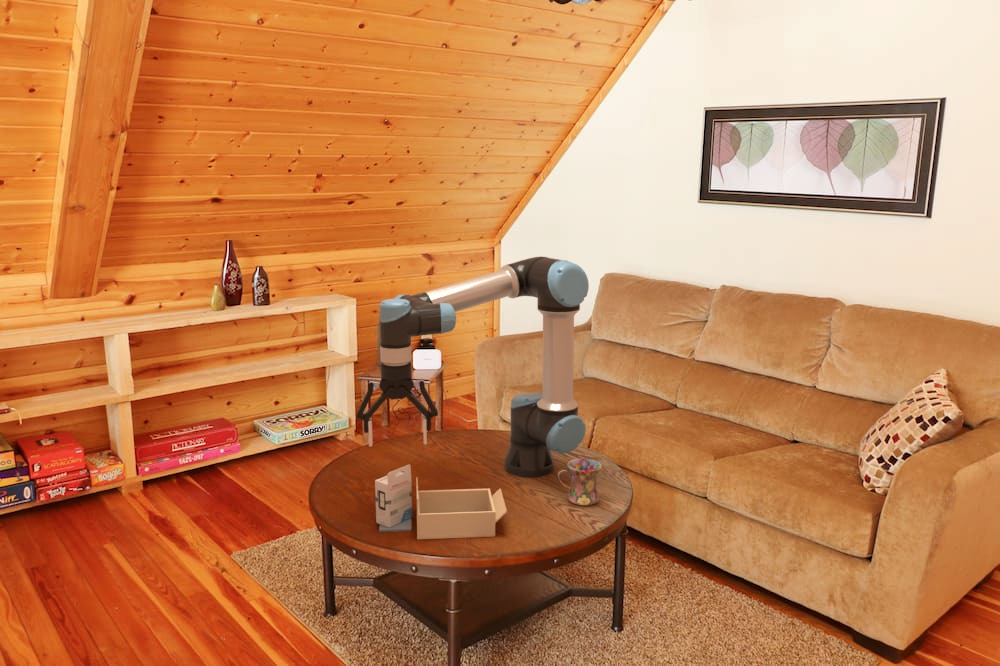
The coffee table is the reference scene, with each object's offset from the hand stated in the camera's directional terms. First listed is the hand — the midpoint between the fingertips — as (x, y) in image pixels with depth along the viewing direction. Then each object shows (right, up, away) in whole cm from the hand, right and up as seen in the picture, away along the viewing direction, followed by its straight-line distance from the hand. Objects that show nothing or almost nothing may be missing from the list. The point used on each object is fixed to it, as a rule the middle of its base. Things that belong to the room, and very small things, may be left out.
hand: (398, 443), depth 206 cm
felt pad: (-1, -21, +4) cm, 21 cm away
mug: (+47, -18, +18) cm, 54 cm away
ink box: (-1, -20, +3) cm, 21 cm away
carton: (+16, -21, +4) cm, 26 cm away
